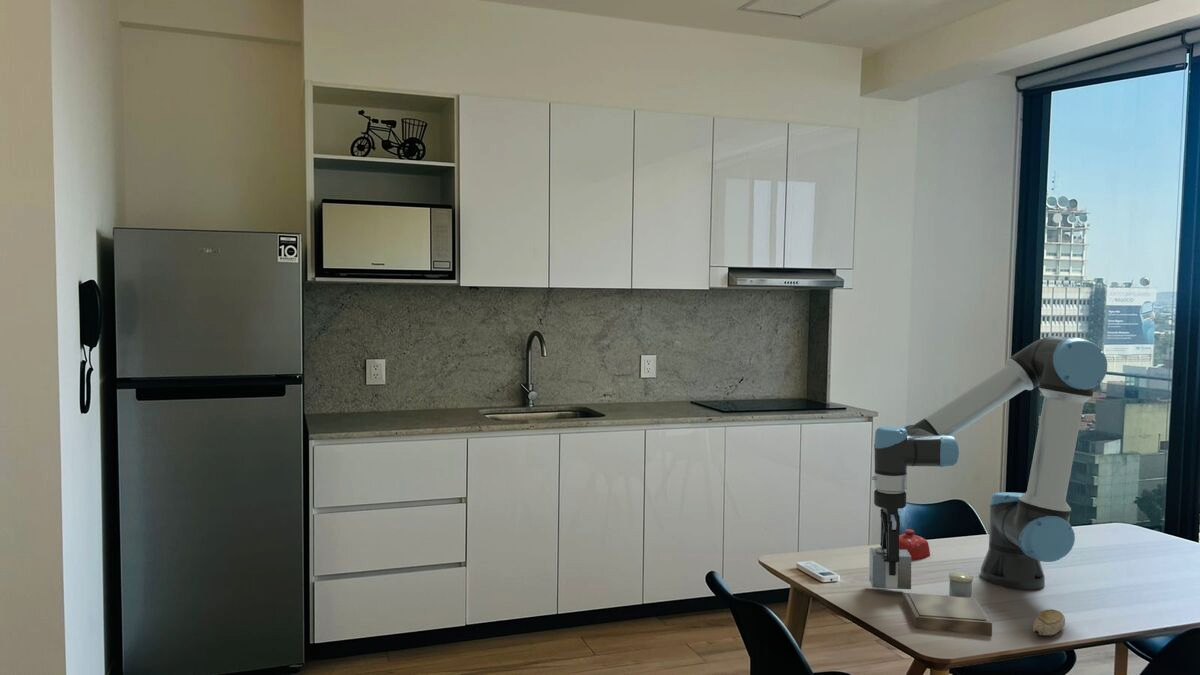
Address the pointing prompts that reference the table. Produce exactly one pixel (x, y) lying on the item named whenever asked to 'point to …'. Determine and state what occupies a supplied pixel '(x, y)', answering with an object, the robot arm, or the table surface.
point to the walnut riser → (947, 614)
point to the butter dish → (914, 545)
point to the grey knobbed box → (879, 568)
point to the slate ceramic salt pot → (960, 584)
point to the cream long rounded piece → (1048, 622)
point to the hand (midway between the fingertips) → (889, 582)
